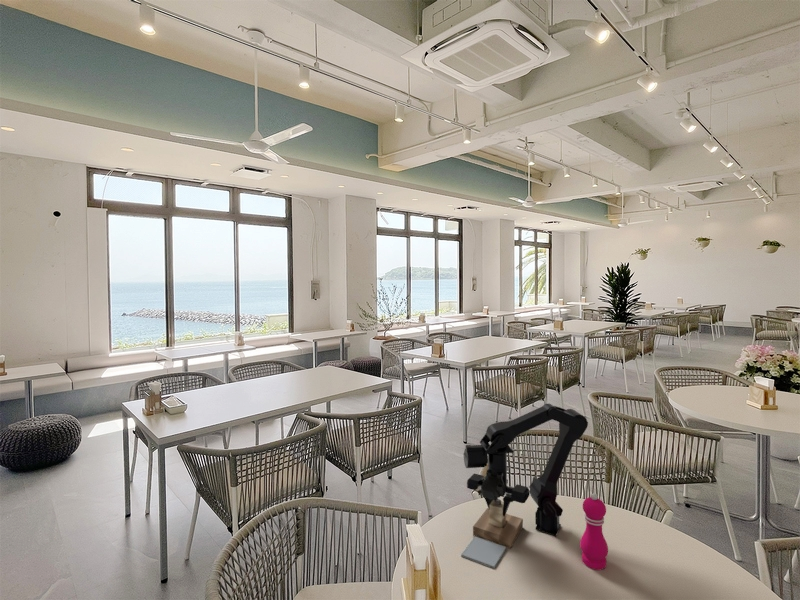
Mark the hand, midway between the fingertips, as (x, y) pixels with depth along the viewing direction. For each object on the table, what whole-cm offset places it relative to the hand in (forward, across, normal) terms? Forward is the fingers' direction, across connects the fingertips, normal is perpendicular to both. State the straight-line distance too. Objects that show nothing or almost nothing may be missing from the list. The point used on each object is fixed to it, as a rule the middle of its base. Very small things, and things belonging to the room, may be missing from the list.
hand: (497, 513), depth 135 cm
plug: (+5, 0, 0) cm, 5 cm away
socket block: (+6, 0, 0) cm, 6 cm away
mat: (+6, 0, -12) cm, 13 cm away
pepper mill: (+6, +28, 0) cm, 29 cm away
